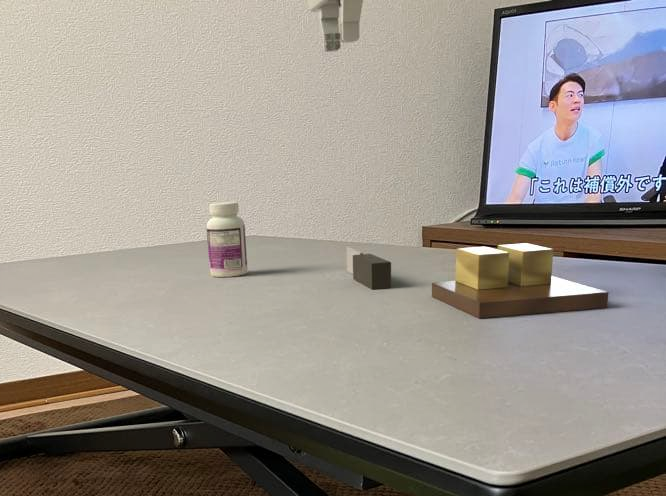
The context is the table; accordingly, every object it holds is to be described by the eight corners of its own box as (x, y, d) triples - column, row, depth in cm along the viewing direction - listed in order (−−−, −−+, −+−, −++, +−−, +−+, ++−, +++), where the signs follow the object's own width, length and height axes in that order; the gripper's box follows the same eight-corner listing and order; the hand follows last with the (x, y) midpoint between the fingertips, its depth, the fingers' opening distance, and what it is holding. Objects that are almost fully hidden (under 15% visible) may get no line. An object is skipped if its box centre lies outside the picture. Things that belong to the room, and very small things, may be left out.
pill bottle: (220, 272, 131) (214, 201, 128) (253, 272, 129) (249, 200, 126) (203, 277, 127) (197, 204, 123) (238, 277, 125) (233, 203, 121)
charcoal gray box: (391, 288, 108) (391, 260, 107) (371, 289, 108) (371, 261, 106) (356, 270, 124) (356, 246, 123) (339, 271, 124) (339, 247, 123)
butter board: (543, 287, 102) (546, 241, 100) (607, 307, 88) (612, 254, 86) (431, 296, 100) (432, 249, 98) (478, 318, 87) (481, 264, 85)
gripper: (392, -130, 87) (392, 34, 92) (345, -79, 106) (348, 54, 111) (327, -127, 86) (331, 37, 92) (292, -77, 105) (297, 57, 110)
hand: (340, 47), depth 102 cm, fingers open, 8 cm apart
